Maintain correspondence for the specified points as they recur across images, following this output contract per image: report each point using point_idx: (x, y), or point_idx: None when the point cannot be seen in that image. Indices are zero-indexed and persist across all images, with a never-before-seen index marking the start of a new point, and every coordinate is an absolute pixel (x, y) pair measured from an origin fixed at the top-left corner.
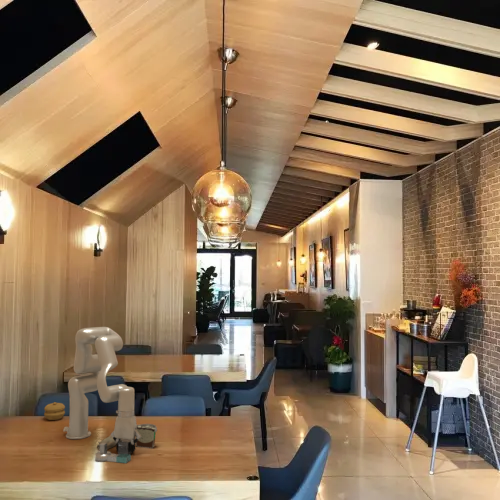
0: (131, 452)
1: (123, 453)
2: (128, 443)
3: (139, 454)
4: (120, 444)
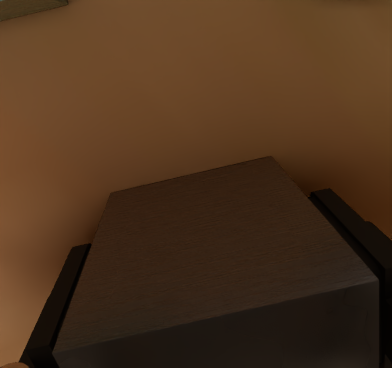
0: (72, 250)
1: (181, 185)
2: (68, 342)
3: (11, 293)
4: (276, 251)
